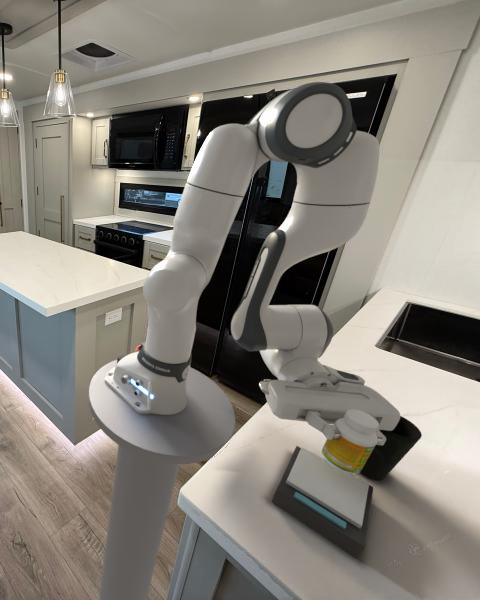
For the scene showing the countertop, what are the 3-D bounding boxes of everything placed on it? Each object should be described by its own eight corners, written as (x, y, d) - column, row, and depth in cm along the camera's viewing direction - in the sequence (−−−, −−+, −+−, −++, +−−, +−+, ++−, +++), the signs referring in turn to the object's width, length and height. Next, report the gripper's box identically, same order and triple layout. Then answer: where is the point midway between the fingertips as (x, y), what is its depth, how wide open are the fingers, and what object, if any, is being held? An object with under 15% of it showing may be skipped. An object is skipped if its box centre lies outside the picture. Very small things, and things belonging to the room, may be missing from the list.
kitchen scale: (271, 501, 55) (277, 487, 53) (292, 455, 64) (297, 442, 63) (356, 558, 47) (366, 544, 46) (366, 498, 56) (375, 483, 55)
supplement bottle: (357, 482, 49) (383, 437, 45) (317, 459, 53) (338, 416, 49) (362, 462, 53) (387, 419, 49) (324, 442, 56) (344, 401, 52)
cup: (349, 445, 67) (372, 402, 62) (396, 471, 62) (425, 426, 57) (337, 463, 63) (361, 418, 58) (386, 493, 57) (417, 446, 53)
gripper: (259, 366, 62) (295, 417, 49) (369, 376, 60) (436, 432, 47) (251, 391, 64) (283, 446, 52) (356, 402, 62) (416, 461, 50)
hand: (357, 439), depth 49 cm, fingers closed on supplement bottle, 5 cm apart
